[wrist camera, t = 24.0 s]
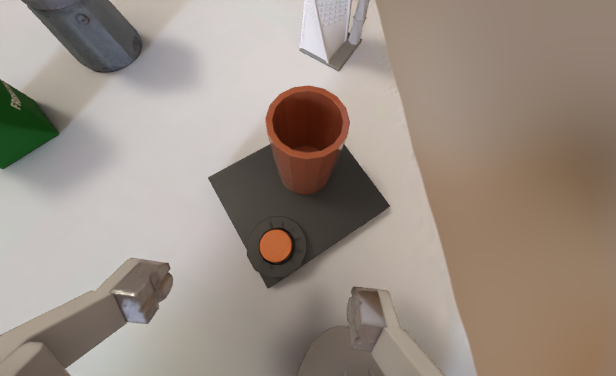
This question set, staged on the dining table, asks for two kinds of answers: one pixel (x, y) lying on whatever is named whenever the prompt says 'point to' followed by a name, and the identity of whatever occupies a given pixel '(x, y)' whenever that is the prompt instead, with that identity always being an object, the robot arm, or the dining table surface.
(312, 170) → the cup
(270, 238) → the button
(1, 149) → the milk carton
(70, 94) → the dining table surface
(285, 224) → the dark grey flat block
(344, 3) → the skyscraper
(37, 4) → the moka pot
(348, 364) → the lumpy-topped squat cylinder
